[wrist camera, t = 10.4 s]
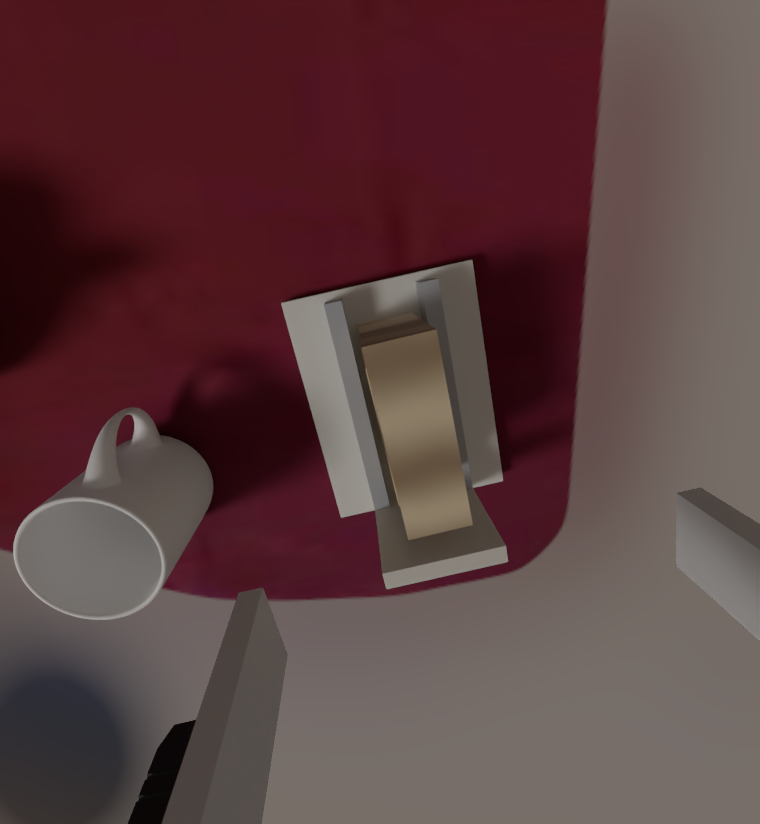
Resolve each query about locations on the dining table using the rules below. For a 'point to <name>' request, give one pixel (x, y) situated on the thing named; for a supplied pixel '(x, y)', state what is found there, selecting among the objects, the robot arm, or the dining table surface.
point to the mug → (115, 524)
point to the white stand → (357, 422)
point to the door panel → (416, 423)
